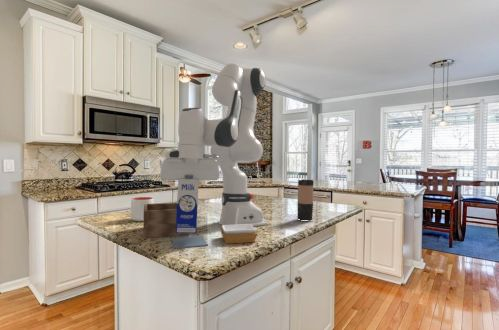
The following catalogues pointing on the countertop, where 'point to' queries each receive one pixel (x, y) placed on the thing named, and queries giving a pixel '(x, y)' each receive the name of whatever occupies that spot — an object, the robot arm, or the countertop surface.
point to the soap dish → (238, 233)
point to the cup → (139, 207)
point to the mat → (189, 242)
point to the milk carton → (187, 204)
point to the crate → (160, 220)
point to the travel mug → (305, 199)
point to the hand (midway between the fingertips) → (189, 193)
